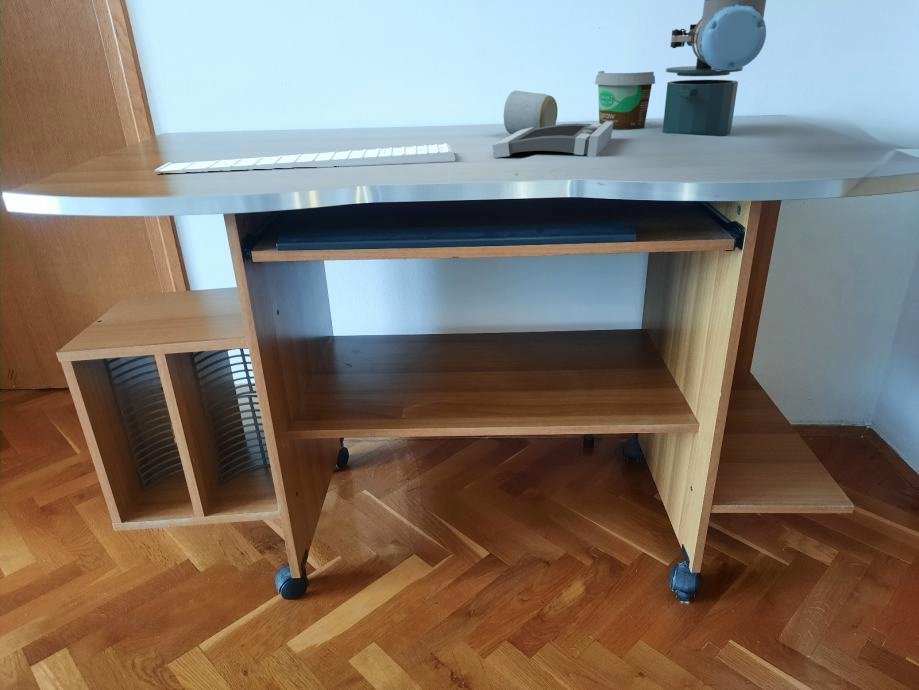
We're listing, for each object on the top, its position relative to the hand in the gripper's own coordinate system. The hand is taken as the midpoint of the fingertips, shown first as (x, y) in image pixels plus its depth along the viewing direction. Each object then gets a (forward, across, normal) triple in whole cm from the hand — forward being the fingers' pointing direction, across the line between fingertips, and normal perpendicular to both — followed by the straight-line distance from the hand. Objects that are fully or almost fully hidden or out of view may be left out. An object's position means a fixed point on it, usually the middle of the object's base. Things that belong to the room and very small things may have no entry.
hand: (704, 36), depth 114 cm
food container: (+1, -14, -16) cm, 22 cm away
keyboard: (-39, -60, -16) cm, 74 cm away
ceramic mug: (-7, -30, -16) cm, 34 cm away
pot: (-5, 0, -16) cm, 17 cm away
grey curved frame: (-25, -24, -16) cm, 38 cm away
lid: (-5, 0, -5) cm, 8 cm away
